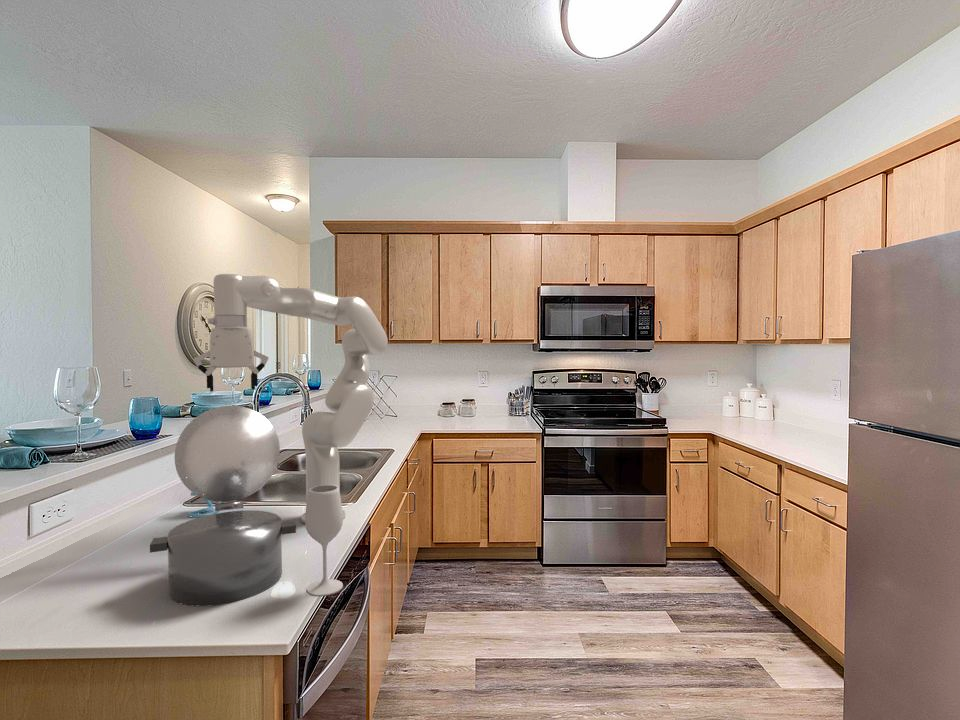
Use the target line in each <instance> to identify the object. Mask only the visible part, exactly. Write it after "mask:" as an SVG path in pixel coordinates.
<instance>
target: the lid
mask: <svg viewBox="0 0 960 720" xmlns="http://www.w3.org/2000/svg"><path fill="white" fill-rule="evenodd" d="M280 451H281V446H280V440H279V436H278V433H277V432H276V430H275V428H274V426H273V425H272V423H271V422H270V421H269V420H268V419H267V418H266V417H265V416H264V415H262V414H261V413H259V412H258V411H256V410H254V409H251V408H249V407H245V406H240V405H221V406H217V407H214V408H210V409H208V410H206V411H204V412H202V413H200V414H198V415H197V416H195V417H194V418H193V419H192V420H191V421H189V423H188V424H187V425H186V426H185V427H184V429H183V430H182V432H181V433H180V435H179V437H178V439H177V442H176V445H175V450H174V465H175V471H176V473H177V475H178V477H179V480H180V481H181V483H182V484H184V487H186V488H187V489H188V490H189V491H190V493H192V492H193V493H194V494H196V495H198V496H197V497H200V498H202V499H203V500H204V499H207V500H210V502H216V503H215V504H214V509H215V511H218V512H221V511H230V510H238V509H244V500H242V499H245V498H247V497H249V496H251V495H253V494H255V493H257V492H258V491H260V489H262V488H263V487H264V486H265V485H266V484H267V482H269V480H270V479H271V478H272V476H273V475H274V474H275V472H276V469H277V467H278V464H279V460H280V454H281V452H280ZM217 502H221V503H217Z"/></svg>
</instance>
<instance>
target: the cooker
mask: <svg viewBox="0 0 960 720" xmlns="http://www.w3.org/2000/svg"><path fill="white" fill-rule="evenodd" d="M296 533H297V523H296V520H295V519H293V520H287V521H285V520H283V521H282V518H281V517H280V515H278V514H276V513H274V512H269V511H264V510H233V511H226V512H217V513H216V514H212V515H207V516H203V517H199V518H198V517H195V518H193V519H190V520H188V521H185V522H183V523H180V524H179V525H176V526H175V527H173V528H171V530H169V532H168V534H167V536H161V537H153V538H152V540H151V542H150V543H149V553H150V554H151V553H157V552H164V551H165V552H166V551H167V559H168V560H167V563H168V572H167V573H168V596H169V598H170V597H171V598H170V599H171V600H172V601H173V600H174V601H173V602H175V601H176V602H175V603H177V602H178V604H180V603H182V604H181V605H184V604H186V605H185V606H191V605H193V606H194V607H197V606H196V605H202V606H201V607H204V606H203V605H211V606H219V604H220V605H225V603H226V604H229V603H235V602H239V601H242V600H245V599H249V598H251V597H254V596H257V595H259V594H261V593H263V592H265V591H267V590H269V589H270V588H272V587H273V586H275V585H277V583H278V582H279V581H280V579H281V578H282V576H281V575H282V574H283V560H282V559H283V558H282V557H283V555H282V553H283V551H282V549H283V548H282V535H288V534H289V535H290V534H296Z"/></svg>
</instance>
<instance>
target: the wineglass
mask: <svg viewBox="0 0 960 720" xmlns="http://www.w3.org/2000/svg"><path fill="white" fill-rule="evenodd" d="M340 493H341V491H340V492H339V488H338V486H335V485H320V486H315V487H312V488H310V489H309V492H308V498H307V504H306V506H305V507H306V508H305V512H304V513H305V523H304V525H305V530H306V531H307V534H308V535H309V536H310V538H312V539H313V540H314V541H316V543H319V544H320V546H321V547H322V575H323V576H322V579H320V580H317V581H314V582H313V583H311V584H310V585H308V586H307V588H306V590H307V594H309V595H311V596H315V597H324V596H331V595H333V594H337V593H339V592H340V591H341V590H342V589H343V587H344V584H343V582H342V581H340V580H338V579H331V578H328V571H327V570H328V569H327V568H328V567H327V556H328V555H327V549H328V546H329V543H330V542H332V541H333V539H334V538H336V537H337V535H338V534H339V533H340V531H341V529H342V526H343V522H344V521H343V520H344V518H343V511H344V510H343V506H342V505H343V503H342V498H341V494H340ZM342 510H343V511H342Z"/></svg>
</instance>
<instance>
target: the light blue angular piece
mask: <svg viewBox="0 0 960 720" xmlns="http://www.w3.org/2000/svg"><path fill="white" fill-rule="evenodd" d="M190 496H192V497H196V496H197V497H199V496H198V495H196V494H194V493H193V492H190ZM203 500H204V501H205V503H206V505H207V506H208V507H206V508H205V507H204V508H202V509H198V510H195V511H191V512H189V513H187V517H188V516H192V517H191V518H198V517H203V516H207V515H212V514H217V513H219V511H215V506H214V505H213V503H212V501H211V500H207V499H204V498H203ZM216 503H222V502H217V501H216ZM212 509H213V511H212ZM209 510H210V511H212V512H211V513H208V514H207V513H206V512H205V511H207V512H210V511H209ZM201 512H203V513H201ZM198 513H200V514H198Z"/></svg>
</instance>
